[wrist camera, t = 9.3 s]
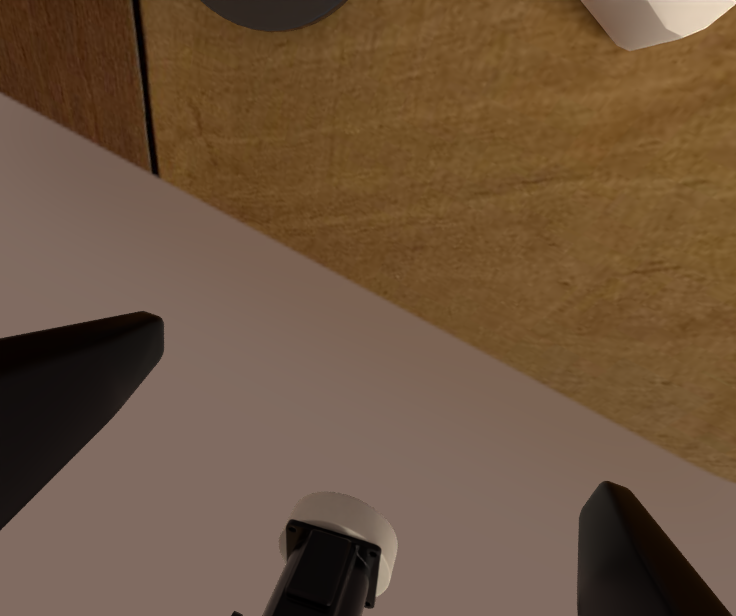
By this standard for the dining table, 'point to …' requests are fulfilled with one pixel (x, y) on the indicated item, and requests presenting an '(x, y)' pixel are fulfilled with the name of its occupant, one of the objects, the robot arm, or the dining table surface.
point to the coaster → (274, 12)
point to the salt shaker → (654, 19)
